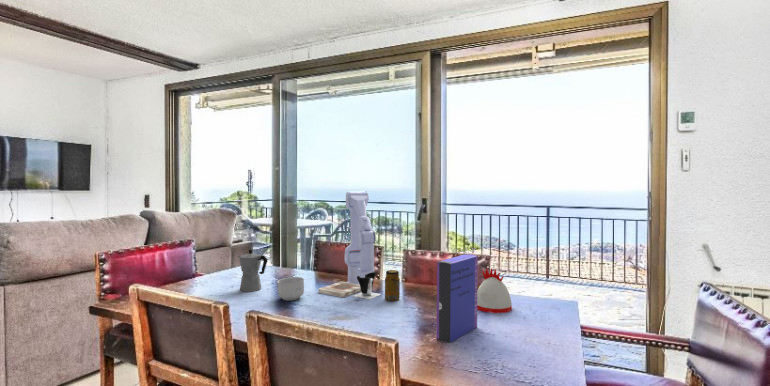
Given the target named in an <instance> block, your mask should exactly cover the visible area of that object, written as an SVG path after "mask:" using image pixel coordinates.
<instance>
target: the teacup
mask: <svg viewBox="0 0 770 386" xmlns="http://www.w3.org/2000/svg"><path fill="white" fill-rule="evenodd" d="M276 285H277V292H278V293H277V294H278V296H279V297H280V298H281V299H282V300H283V301H290V302H291V301H297V300H299V299H300V298H301V297H302V296H303V294H304V292H305V278H304V277H300V276H289V277H284V278H280V279H279V280H277V281H276Z"/></svg>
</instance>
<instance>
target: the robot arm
mask: <svg viewBox="0 0 770 386" xmlns="http://www.w3.org/2000/svg"><path fill="white" fill-rule="evenodd" d="M369 200H370V198H369V193H368V192H367V191H366V190H365V191H350V190H348V191H347V192H346V193H345V208H346V209H347V210H348V211H349V214H350V217H349V218H350V244H349V245H348V246H346V247H345V250H344V263H345V264H346V265H347V282H348V283H354V284H360V288H361V291H360V293H361V292H362V294H367V291H368V285H369V281H370V279H371V278H373V281H372V288H373V286H374V281H375V278H376V275H377V271H375V261H374V260H375V257H374V256H375V253H374V252H375V246H374V245H375V244H376V239H377V236H376V231H375V229H374V228H373V227H372V222H371V218H370V217H368V216H367V215H368V214H367V210H366V207H367V206H368V204H369Z"/></svg>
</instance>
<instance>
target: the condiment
mask: <svg viewBox="0 0 770 386" xmlns="http://www.w3.org/2000/svg"><path fill="white" fill-rule="evenodd" d="M399 273H400V272H399V271H398V270H395V269H390V270H389V269H388V270H386V271H385V279H384V300H385V301H387V302H398V301H399V300H400V297H401V296H400V295H401V294H400V291H401V290H400V288H401V287H400V286H401V282H400V281H401V280H400V279H401V278H400V276H399V275H400V274H399Z"/></svg>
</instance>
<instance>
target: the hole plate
mask: <svg viewBox="0 0 770 386" xmlns="http://www.w3.org/2000/svg"><path fill="white" fill-rule="evenodd" d="M317 291H318V293H319V294H324V295H329V296H334V297H335V296H336V297H340V298H346V297H349V296H353V295H356V294H358V293H361V288H360V284H354V283H348V281H339V282H335V283H332V284H330V285H329V284H328V285H326V286H324V287H319V288H318V289H317Z"/></svg>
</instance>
